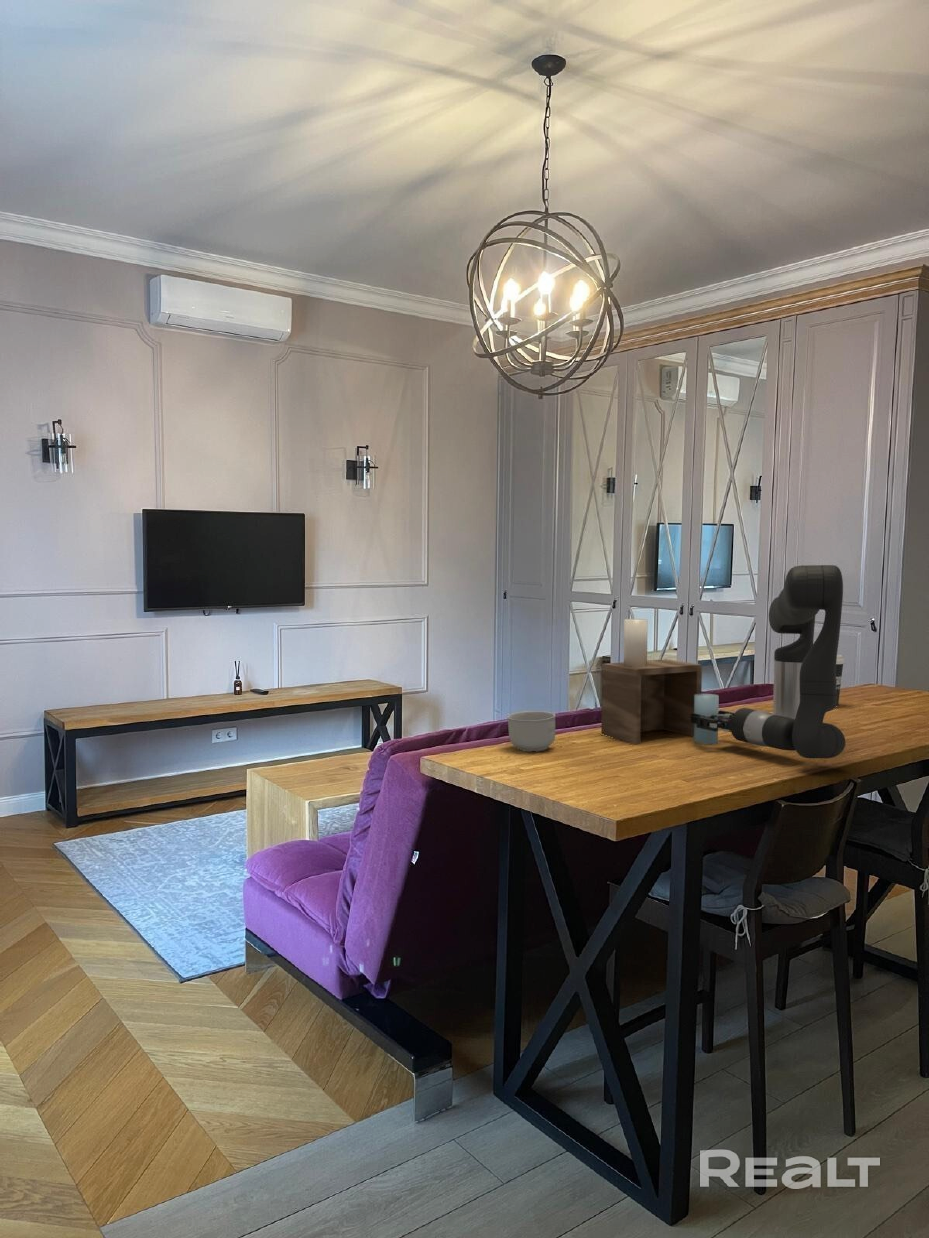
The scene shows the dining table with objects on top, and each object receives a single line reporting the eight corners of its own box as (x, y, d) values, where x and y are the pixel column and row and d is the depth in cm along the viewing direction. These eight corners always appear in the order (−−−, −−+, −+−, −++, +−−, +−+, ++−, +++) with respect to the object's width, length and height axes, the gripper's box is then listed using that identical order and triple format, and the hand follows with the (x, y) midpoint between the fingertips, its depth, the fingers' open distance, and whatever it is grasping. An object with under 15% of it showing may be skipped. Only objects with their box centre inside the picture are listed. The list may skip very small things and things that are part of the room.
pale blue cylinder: (713, 739, 216) (714, 693, 215) (721, 744, 210) (722, 697, 210) (690, 739, 216) (691, 693, 215) (697, 744, 210) (698, 697, 209)
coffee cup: (812, 708, 260) (813, 656, 259) (805, 703, 269) (806, 653, 268) (847, 709, 258) (848, 657, 257) (839, 704, 267) (840, 653, 266)
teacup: (559, 753, 200) (559, 718, 200) (510, 754, 200) (510, 718, 199) (548, 741, 214) (549, 707, 214) (503, 742, 213) (503, 708, 213)
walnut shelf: (665, 727, 231) (666, 659, 230) (700, 736, 219) (701, 664, 218) (601, 734, 221) (602, 663, 220) (635, 744, 210) (636, 669, 209)
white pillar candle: (643, 663, 220) (644, 618, 219) (649, 666, 214) (650, 620, 214) (621, 664, 220) (621, 618, 219) (626, 666, 214) (627, 620, 213)
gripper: (781, 708, 202) (728, 698, 216) (733, 713, 195) (682, 702, 209) (780, 741, 202) (727, 729, 217) (733, 747, 196) (681, 734, 210)
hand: (705, 716), depth 213 cm, fingers open, 8 cm apart
